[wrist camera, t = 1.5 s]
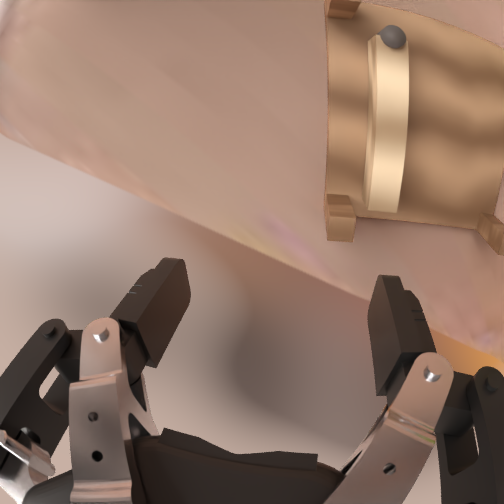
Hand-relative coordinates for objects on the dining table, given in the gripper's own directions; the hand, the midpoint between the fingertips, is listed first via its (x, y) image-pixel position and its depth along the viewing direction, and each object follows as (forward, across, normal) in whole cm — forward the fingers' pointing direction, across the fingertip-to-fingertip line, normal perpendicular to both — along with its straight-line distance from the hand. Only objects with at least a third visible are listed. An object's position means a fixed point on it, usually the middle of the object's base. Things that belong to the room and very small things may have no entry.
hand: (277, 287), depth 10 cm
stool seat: (+18, -12, -6) cm, 23 cm away
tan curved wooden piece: (+16, -7, -6) cm, 18 cm away
